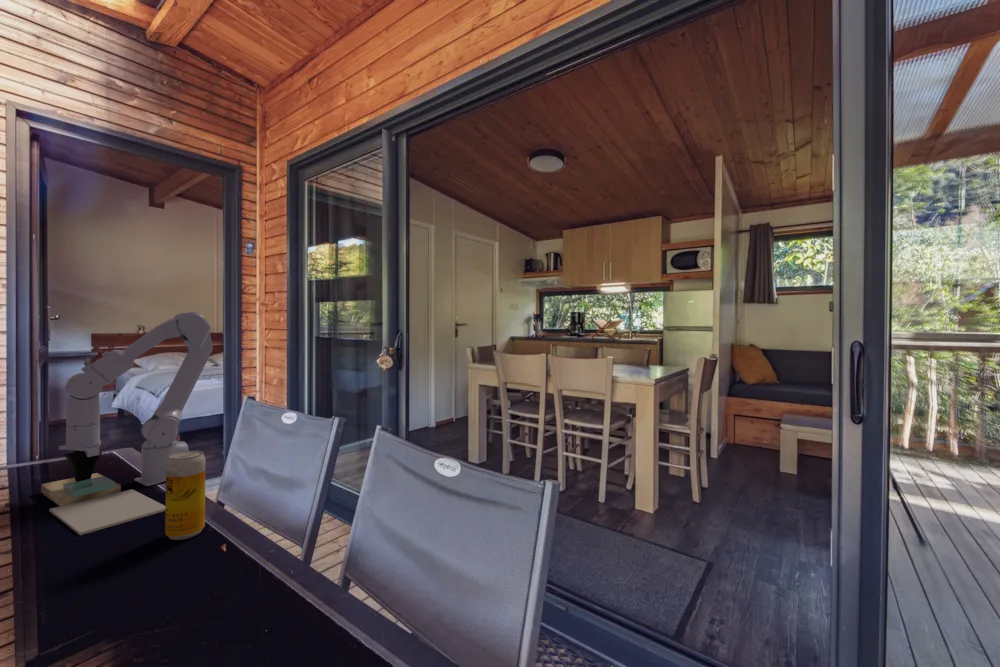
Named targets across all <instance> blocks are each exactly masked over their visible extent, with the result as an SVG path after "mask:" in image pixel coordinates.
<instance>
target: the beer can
mask: <svg viewBox="0 0 1000 667" xmlns="http://www.w3.org/2000/svg"><path fill="white" fill-rule="evenodd" d="M165 506H166V510H165V511H164V513H165V518H164V519H165V522H164V523H165V524H164V525H165V526H164V527H165V529H164V532H165V533H164V534H165V535H166V536H167V537H168V539H169V540H173V541H179V540H185V539H191V538H193V537H195V536H197V535H199V534H200V533H201V532H202V530H203V529H204V528H205V526H206V456H205V455H204V451H202V450H201V451H200V450H189V451H186V452H180V453H176V454H172V455H170V456H169V459H168V460H167V462H166V482H165Z"/></svg>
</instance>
